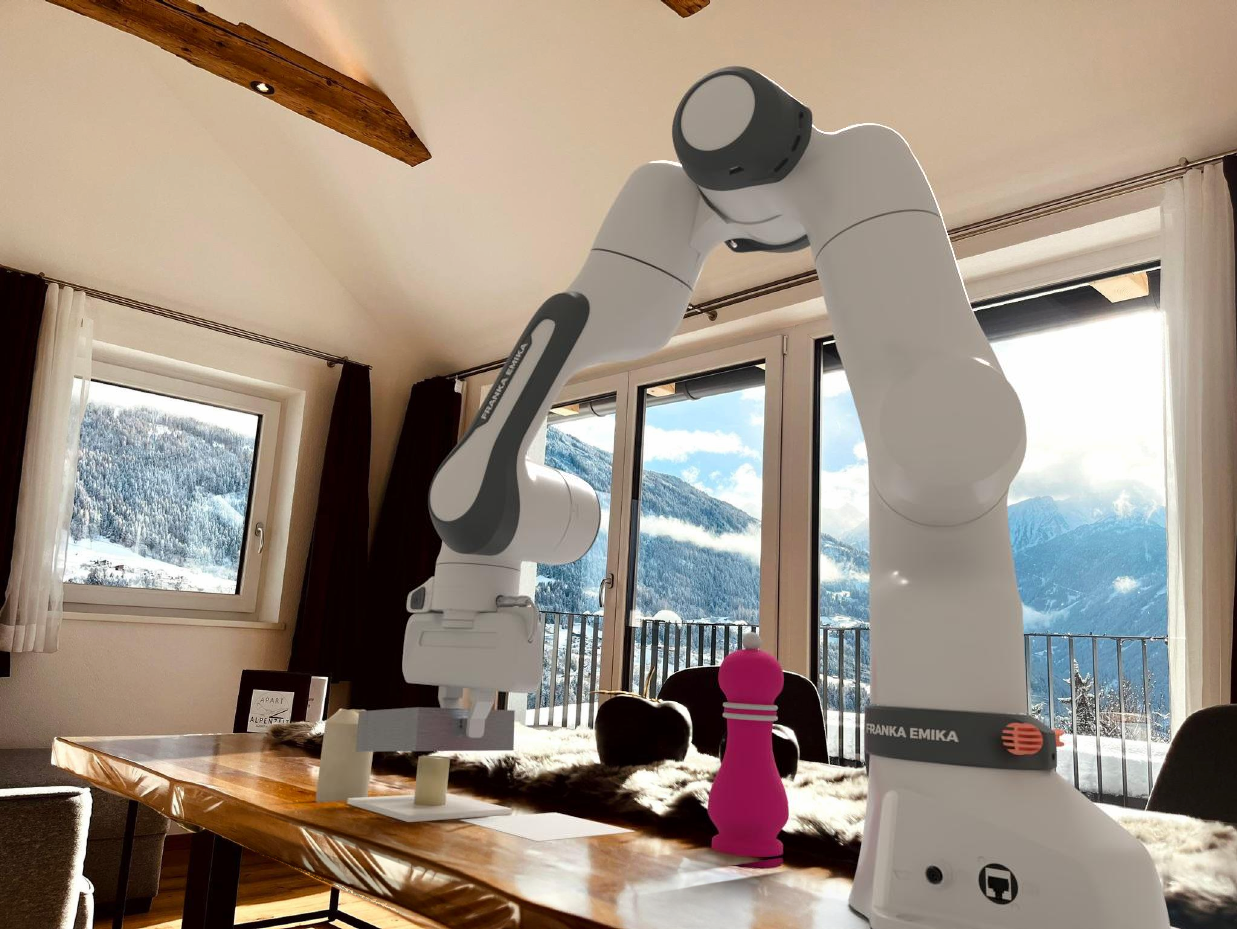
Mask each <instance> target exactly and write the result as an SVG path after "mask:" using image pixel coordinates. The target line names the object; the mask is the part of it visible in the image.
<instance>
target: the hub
mask: <svg viewBox="0 0 1237 929" xmlns="http://www.w3.org/2000/svg"><path fill="white" fill-rule="evenodd" d="M450 761H451V757H448V756H443V755H442V756H440V755H439V756H438V755H421V756H420V755H419V756H418V760H417V767H416V768H417V769H416V777H415V787H414V789H415V790H414V794H403V795H385V796H368V797H361V798H348V801H346V802H347V805H350V806H353V807H357V808H360V809H363V810H367V811H370V812H374V813H377V814H380V815H384V816H387V817H391V818H393V819H397V820H400V821H404V822H407V823H414V822H415V823H416V822H427V821H429V822H430V821H439V820H442V821H443V820H454V819H455V820H456V819H467V818H468V819H471V818H485V817H498V816H512V813H513V808H512V807H507V806H501V805H498V804H494V803H490V802H486V801H481V800H478V799H475V798H474V799H473V798H470V797H469V798H468V797H464V796H460V795H457V794H453V793H449V792H448V782H449V781H448V780H449V772H450V771H449V770H450Z"/></svg>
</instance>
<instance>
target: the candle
mask: <svg viewBox="0 0 1237 929" xmlns="http://www.w3.org/2000/svg"><path fill="white" fill-rule="evenodd" d="M359 711H367V710H366V709H355V708H353V709H346V708H345V709H344V708H339V709H338V710H337V711H336V712H335V713H333V715H331V716H330V717H329V718H328V719H327V720H326V721H325V723H324V730H323V739H322V745H321V746H322V747H321V754H320V763H319V769H318V777H317V785H316V793H315V803H331V802H335V803H337V802H348V798H361V797H369V789H370V780H371V772H372V762H373V755H374V751H356V741H357V729H358V716H359Z"/></svg>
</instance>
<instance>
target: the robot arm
mask: <svg viewBox="0 0 1237 929" xmlns="http://www.w3.org/2000/svg"><path fill="white" fill-rule="evenodd" d="M671 135H672V136H671V138H672V143H673V147H674V151H675V154H676V157H677V159H678V162H679V163H678V162H676V161H670V160H669V161H668V160H656V161H655V160H654V161H649V162H646V163H644V164H642V165H640V166H639V167H637V168H636V169H635V170H634V171H632V173H631V175H630V176H628V178H627V180H626V181H625V184H624V185H623V187H622V188H621V189H620V191H619V192H618V194H617V196H616V198H615V199H614V201H613V203H612V205H611V206H610V207H609V208H610V209H608V212H607V213H606V216H605V218H604V220H603V222H602V223H601V226H600V228H599V230H598V231H597V234H596V237H595V239H594V241H593V244H592V246H591V248H590V251H589V252H588V256H587V258H586V260H585V262H584V264H583V267H582V268H581V269H580V271H579V272H578V275H577V276H576V277H575V279H574V280H573V281H572V282H571V284H569V286H568V287H567V288H566V289H565V290H564V291H562V292H559V293H556V294H553V295H552V296H550V297H548V299H546V300H545V301H544V302H543V303H542V304H541V305H540V306H539V307H538V309H537V310H536V312H535V313H534V315H533V316H532V317H531V319H530V321H529V322H528V323H527V325H526V327H525V328H524V330H523V332H522V334H521V335H520V337H519V338H518V340H517V341H516V344H515V346H514V347H513V348H512V350H511V352H510V354H509V356H508V357H507V359H506V361H505V362H504V365H503V366H502V368H501V369H500V372H499V373H498V375H497V377H496V379H495V380H494V382H493V383H492V386H491V388H490V389H489V391H488V393H487V395H486V397H485V398H484V399H483V402H482V403H481V405H480V407H479V409H478V411H477V413H476V414H475V416H474V418H473V419H472V421H471V423H470V424H469V426H468V428H467V429H466V431H465V433H464V434H463V436H462V437H461V439H460V440H459V441H458V442H457V444H455V447H453V449H452V450H451V451H450V452H449V454H448V455H447V456H446V457H445V459H444V460H443V461H442V462H441V464H440V465H439V467H438V469H437V470H436V472H435V473H434V475H433V478H432V480H431V483H430V485H429V488H428V495H427V503H428V504H427V505H428V511H429V515H430V519H431V522H432V525H433V527H434V529H435V531H436V533H437V534H438V536H439V537H440V539H441V540H442V542H441V547H440V551H439V554H438V556H437V559H436V562H435V571H434V576H431V577H430V578H428V580H426V581H425V582H424V583H423V584H421V585H420V586H418V587H417V588H415V589H414V590H412V591H410V592H409V593H408V595H407V598H406V599H407V600H406V610H407V612H409V613H413V614H412V615H411V616H410V617H409V618H408V621H407V624H406V628H405V633H404V641H403V651H402V652H403V654H402V665H401V666H402V673H403V674H402V675H403V677H404V680H405V682H406V683H408V684H419V685H429V686H430V685H431V686H438V696H437V699H438V702H439V705H440V707H439V708H455V709H462V708H461V704H460V703H461V701H460V699H463V697H464V694H463V693H464V689H469V698H468V699H469V701H471V705H470V707H469V709H470V710H469V713H468V716H467V718H462V728H461V734H462V735H463V736H466V737H471V738H480V737H482V736H483V734H484V726H485V719H486V718H487V716H488V714H489V712H490V710H492V708H493V705H494V704H495V701H496V692H503V693H516V694H535V693H536V692H537V691H538V689H539V687H540V686H541V683H542V682H543V666H544V665H543V663H544V660H543V659H544V658H543V657H544V656H543V653H544V652H543V651H544V650H543V632H542V626H541V622H540V611H539V608H538V607H537V605H536V603H535V602H534V601H533V600H532V598H531V597H530V596H529V595H520V594H519V592H520V581H521V573H522V572H521V569H522V568H521V566H522V562H528V563H529V562H531V563H537V564H542V565H548V566H560V565H561V566H562V565H571V564H573V563H576V562H578V561H579V560H582V558H583V557H585V555H587V553H588V552H589V551H590V550H591V548H592V547H593V546H594V544H595V542H596V540H597V537H598V535H599V532H600V528H601V522H602V509H601V508H602V507H601V503H600V500H599V497H598V494H597V492H596V490H595V489H594V487H593V486H592V485H591V484H590V483H589V482H588V481H586V480H584V479H582V478H581V477H578V476H577V475H574V474H572V473H570V472H567V471H564V470H561V469H558V468H555V467H552V466H550V465H549V466H548V465H546V464H543V463H542V462H540V461H537V460H536V459H534V458H532V457H530V456H529V455H528V454H527V453H528V451H529V449H530V447H531V445H532V443H533V442H534V440H535V438H536V436H537V434H538V432H539V431H540V429H541V427H542V425H543V423H544V421H545V420H546V419H547V416H548V414H549V413H550V411H551V409H552V407H553V405H554V403H555V402H556V400H557V398H558V396H559V395H560V393H561V391H562V389H563V387H564V386H565V385H566V384H567V382H568V381H569V380H570V379H571V378H572V377H573V376H575V375H576V374H577V373H578V372H580V371H582V370H583V369H586V368H587V367H590V366H595V365H598V364H605V363H620V362H621V363H622V362H623V363H624V362H630V361H636V360H640V359H643V358H645V357H648V356H650V355H652V354H655V353H656V352H659V351H660V350H661V349H663V348H664V347H666V346H667V344H668V343H669V342H670V341H671V340H672V338H673V337H674V335H675V334H676V332H677V330H678V329H679V327H680V326H681V323H682V321H683V319H684V316H685V314H686V312H687V309H688V307H689V304H690V301H691V298H692V296H693V295H694V294H693V293H695V292H694V291H695V289H696V286H697V283H698V281H699V279H700V275H701V273H702V271H703V268H704V266H705V263H706V262H707V259H708V258H709V256H710V255H711V253H713V250H714V249H715V248H717V247H718V246H719V245H721V244H723V243H724V244H725V245H726V247H728V249H730V250H731V251H732V252H734V253H740V254H745V253H753V252H754V253H756V252H762V253H764V252H765V253H770V254H771V253H775V254H787V253H794V252H798V251H801V250H804V249H806V248H808V247H810V250H811V254H812V258H813V262H814V266H815V270H816V273H817V277H818V281H819V285H820V289H821V293H822V297H823V300H824V301H823V302H824V304H825V307H826V311H827V316H828V319H829V324H830V328H831V331H832V334H833V339H834V342H835V347H836V350H837V353H838V355H839V358H840V361H841V364H842V368H843V370H844V373H845V376H846V380H847V383H848V386H849V389H850V392H851V396H852V399H853V402H854V406H855V409H856V413H857V417H858V419H859V424H860V427H861V428H860V429H861V430H862V431H861V432H862V434H863V439H864V444H865V448H866V457H867V465H868V466H867V467H868V528H869V530H868V536H869V537H868V540H869V544H868V552H869V556H868V557H869V560H868V561H869V563H868V564H869V568H868V569H869V571H868V573H869V574H868V575H869V581H868V582H869V584H868V586H869V591H868V592H869V593H868V595H869V596H868V598H869V698H870V699H869V703H870V704H867V705H865V706H864V717H863V718H864V719H863V720H864V721H863V722H864V724H863V726H864V727H863V754H864V755H863V756H864V766H865V771H866V776H867V778H868V779H867V780H868V781H867V795H866V807H865V815H864V823H863V833H862V838H861V845H860V851H859V856H858V862H857V866H856V870H855V875H854V879H853V882H852V886H851V890H850V891H849V892H850V893H849V896H848V900H847V901H848V904H849V906H851V907H852V908H853V909H854V910H855V911H857V912H859V913H860V914H862V915H864V916H865V917H866V918H867V919H868V920H869V926H870V928H872V929H1180V928H1178V927H1175V926H1171V923H1170V917H1169V913H1168V908H1167V903H1166V899H1165V895H1164V891H1163V886H1162V882H1161V879H1160V876H1159V872H1158V870H1157V868H1156V865H1155V861H1154V860H1153V858H1152V856H1151V853H1150V852H1149V850H1148V849H1147V847H1146V846H1145V845H1144V844H1143V842H1141V840H1140V839H1139V838H1137V837H1136V836H1135V835H1134V834H1132V833H1131V832H1130V831H1129V830H1127V828H1125V827H1124V826H1122V825H1121V824H1120V823H1119V822H1117V820H1115V819H1114V818H1113V817H1111V816H1110V815H1108V814H1107V813H1106V812H1105V811H1104V810H1103V809H1102V808H1100V807H1099V806H1098V805H1096V804H1095V803H1094V802H1093V801H1091V800H1090V799H1089V798H1088V797H1087V796H1086V795H1085V794H1083V793H1082V792H1081V791H1080V790H1078V789H1077V788H1076V787H1074V786H1073V785H1072V784H1071V783H1070V782H1069V781H1068V780H1066V779H1065V778H1064V776H1062V775H1060V773H1058V772H1057V771H1056V770H1054V769H1055V768H1058V751H1057V750H1058V748H1059V747H1060V748H1061V747H1064V746H1065V742H1063V741H1061V740H1060V737H1062V736H1063V735H1064V734H1065V731H1064V730H1062V729H1052V728H1050V726H1047V725H1046V724H1044V723H1043V722H1042V721H1040V720H1039V719H1037V718H1035V717H1034V716H1032V715H1031V714H1028V701H1027V700H1028V697H1027V696H1028V694H1027V679H1026V677H1027V676H1026V655H1025V636H1024V635H1025V634H1024V614H1023V613H1024V612H1023V610H1024V609H1023V603H1022V598H1021V596H1020V592H1019V586H1018V582H1017V575H1016V569H1015V563H1014V556H1013V549H1012V541H1011V531H1010V525H1009V516H1008V515H1009V514H1008V498H1009V497H1008V495H1009V490H1010V487H1011V484H1012V482H1014V480H1015V477H1017V475H1018V473H1019V471H1020V470H1021V468H1022V465H1023V463H1024V460H1025V456H1026V451H1027V443H1028V436H1027V425H1026V418H1025V413H1024V410H1023V406H1022V403H1021V400H1020V398H1019V396H1018V393H1017V392H1016V390H1015V388H1014V387H1013V386H1012V384H1011V383H1010V382H1009V380H1008V379H1007V377H1006V374H1005V373H1004V370H1003V368H1002V367H1001V363H1000V362H999V359H998V357H997V356H996V353H995V351H994V350H993V347H992V346H991V344H990V342H989V339H988V337H987V336H986V334H985V332H984V330H983V329H982V327H981V325H980V323H979V321H978V319H977V317H976V315H975V313H974V310H973V308H972V306H971V303H970V301H969V300H970V299H969V298H968V294H967V291H966V289H965V285H964V282H963V279H962V276H961V273H960V270H959V266H958V263H957V260H956V256H955V254H954V250H953V247H952V244H951V241H950V237H949V235H948V232H947V229H946V225H945V222H944V219H943V216H942V213H941V210H940V208H939V205H938V202H937V200H936V197H935V194H934V192H933V190H932V188H931V185H930V183H929V181H928V179H927V176H926V175H925V172H924V171H923V169H922V167H921V165H920V163H919V161H918V159H917V158H916V156H915V155H914V152H913V151H912V149H911V148H910V146H909V144H908V142H907V141H906V140H905V139H904V137H903V136H902V135H901V134H900V133H898V132H897V131H895V129H892V128H890V127H888V126H886V125H881V124H877V123H862V124H855V125H851V126H847V127H846V128H845V127H844V128H843V129H840V130H838V131H835V132H824V131H821V130H820V129H817V128H816V127H815V126H814V125H813V112H812V110H811V109H810V107H808V106H807V105H806V104H804V103H803V102H801V101H800V100H798V99H797V98H796V97H794V96H792V94H791V93H789V92H788V91H786V90H785V89H784V88H783V87H782V86H780V85H779V84H778V83H776V82H775V81H773V80H772V79H770V78H769V77H767V76H766V75H764V74H763V73H761V72H758V71H756V70H754V69H752V68H749V67H746V66H740V65H739V66H736V65H733V66H732V65H731V66H725V67H721V68H718V69H715V70H714V71H711V72H709V73H707V74H705V75H704V76H702V77H701V78H700V79H698V80H697V81H696V82H695V83H694V84H692V85H691V87H690V88H689V89H688V90H687V91H686V93H685V94H684V95H683V97H682V98H681V100H680V102H679V103H678V106H677V107H676V111H675V112H674V117H673V120H672V128H671ZM1057 747H1058V748H1057Z"/></svg>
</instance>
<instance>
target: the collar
mask: <svg viewBox="0 0 1237 929" xmlns="http://www.w3.org/2000/svg"><path fill="white" fill-rule="evenodd" d="M469 710H470V708H461V709H455V708H441V707H420V706H417V707H405V708H403V707H402V708H391V709H375V710H366V711H359V716H358V729H357V741H356V751H373V752H453V751H454V752H469V751H470V752H479V751H480V752H482V751H483V752H485V751H486V752H489V751H492V752H493V751H499V752H500V751H504V752H505V751H508V752H509V751H514V745H515V742H514V741H515V716H516V715H515V714H516V713H515V711H516V710H513V709H491V710H490V712H489V714H488V716H487V718H486V719H485V726H484V734H483V736H482V737H480V738H471V737H466V736H463V735H462V734H461V728H462V718H467V716H468V713H469Z"/></svg>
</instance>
